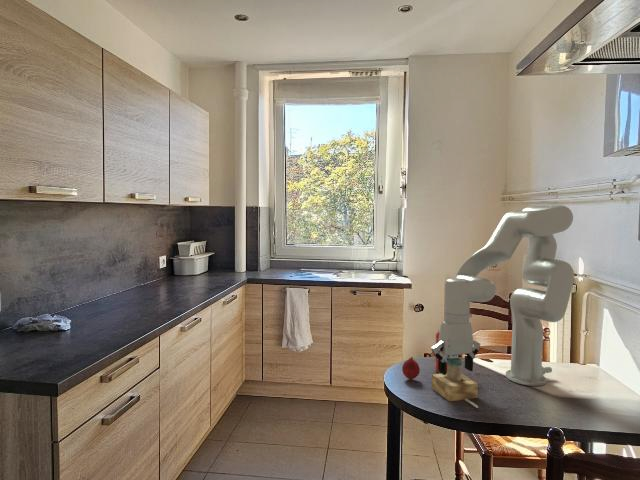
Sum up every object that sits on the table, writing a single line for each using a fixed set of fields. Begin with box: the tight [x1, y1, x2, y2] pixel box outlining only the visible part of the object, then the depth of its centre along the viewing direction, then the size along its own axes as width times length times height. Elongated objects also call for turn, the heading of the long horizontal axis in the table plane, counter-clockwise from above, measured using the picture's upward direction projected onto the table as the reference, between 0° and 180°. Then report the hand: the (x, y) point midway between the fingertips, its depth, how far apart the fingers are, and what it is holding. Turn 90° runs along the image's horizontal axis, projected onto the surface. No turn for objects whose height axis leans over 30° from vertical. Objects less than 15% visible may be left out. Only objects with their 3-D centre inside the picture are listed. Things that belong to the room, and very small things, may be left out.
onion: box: [401, 356, 421, 381], centre depth 141 cm, size 6×6×8 cm
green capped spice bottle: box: [447, 356, 462, 383], centre depth 131 cm, size 3×3×11 cm
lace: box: [464, 398, 479, 409], centre depth 123 cm, size 5×1×1 cm, turn 17°
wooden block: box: [430, 373, 479, 402], centre depth 131 cm, size 10×10×4 cm
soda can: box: [434, 328, 459, 374], centre depth 149 cm, size 8×8×15 cm
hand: (455, 371), depth 131 cm, fingers open, 9 cm apart
